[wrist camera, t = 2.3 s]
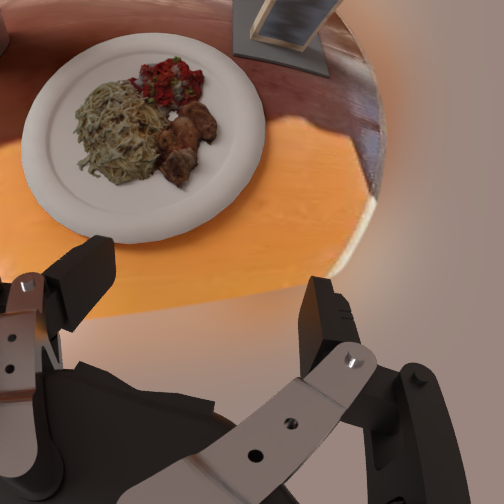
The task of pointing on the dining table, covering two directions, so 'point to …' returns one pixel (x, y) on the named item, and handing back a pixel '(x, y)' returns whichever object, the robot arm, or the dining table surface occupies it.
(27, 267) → the dining table surface
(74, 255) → the robot arm
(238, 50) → the rubber mat
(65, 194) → the plated food
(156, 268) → the dining table surface
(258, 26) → the birch picture frame
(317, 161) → the dining table surface
